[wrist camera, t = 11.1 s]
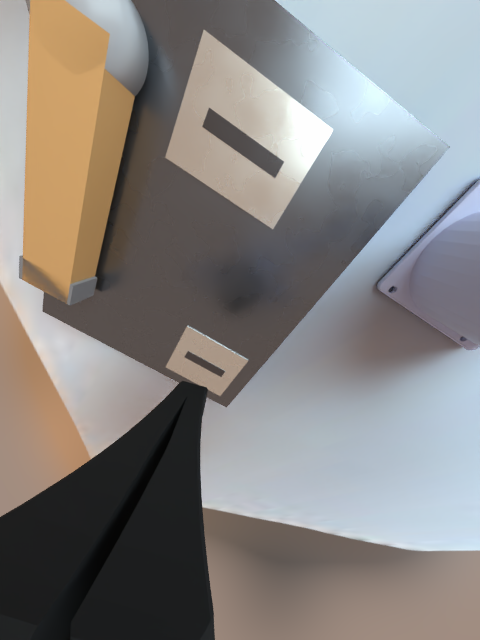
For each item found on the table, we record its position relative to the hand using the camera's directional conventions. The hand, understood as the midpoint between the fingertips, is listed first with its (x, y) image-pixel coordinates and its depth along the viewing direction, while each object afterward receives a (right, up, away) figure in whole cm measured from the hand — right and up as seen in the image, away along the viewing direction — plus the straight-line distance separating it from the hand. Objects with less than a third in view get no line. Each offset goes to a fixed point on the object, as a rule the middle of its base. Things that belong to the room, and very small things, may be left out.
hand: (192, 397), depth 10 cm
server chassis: (-1, +9, +5) cm, 11 cm away
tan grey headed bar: (-6, +12, +1) cm, 14 cm away
